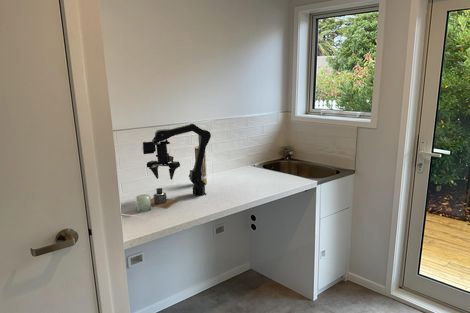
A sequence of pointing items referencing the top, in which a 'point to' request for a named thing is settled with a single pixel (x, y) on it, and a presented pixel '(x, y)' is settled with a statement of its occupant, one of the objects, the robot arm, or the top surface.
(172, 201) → the walnut board
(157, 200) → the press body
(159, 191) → the plunger
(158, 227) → the top surface
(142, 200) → the sage mug
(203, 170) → the paper tube
